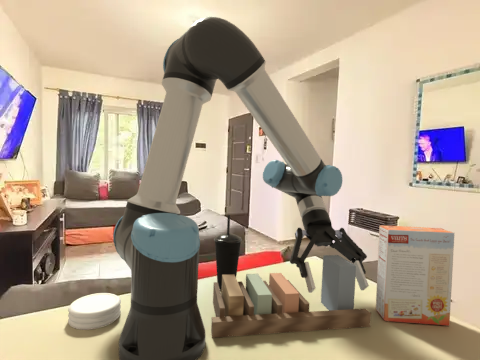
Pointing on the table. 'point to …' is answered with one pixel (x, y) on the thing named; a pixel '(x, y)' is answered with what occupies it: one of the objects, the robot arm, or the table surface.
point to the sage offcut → (258, 294)
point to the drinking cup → (227, 253)
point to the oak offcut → (232, 296)
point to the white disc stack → (94, 311)
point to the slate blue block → (338, 283)
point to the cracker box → (414, 274)
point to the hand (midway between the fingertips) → (339, 289)
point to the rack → (281, 317)
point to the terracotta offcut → (284, 292)
